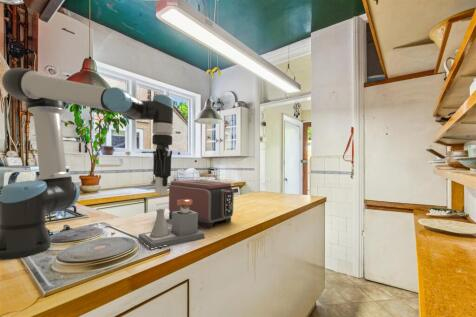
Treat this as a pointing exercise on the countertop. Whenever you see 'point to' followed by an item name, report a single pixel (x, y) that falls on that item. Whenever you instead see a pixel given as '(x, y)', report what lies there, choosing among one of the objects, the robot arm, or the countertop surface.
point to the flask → (160, 225)
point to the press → (176, 231)
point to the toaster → (203, 200)
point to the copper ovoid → (184, 205)
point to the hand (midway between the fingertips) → (161, 193)
